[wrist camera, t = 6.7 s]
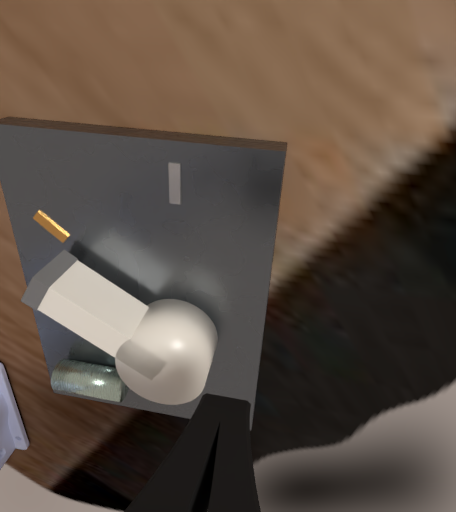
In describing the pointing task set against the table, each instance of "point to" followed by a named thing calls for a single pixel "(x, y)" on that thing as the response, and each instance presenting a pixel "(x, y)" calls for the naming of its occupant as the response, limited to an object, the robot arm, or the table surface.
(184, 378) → the white long bulbous piece
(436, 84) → the table surface
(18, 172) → the base plate
